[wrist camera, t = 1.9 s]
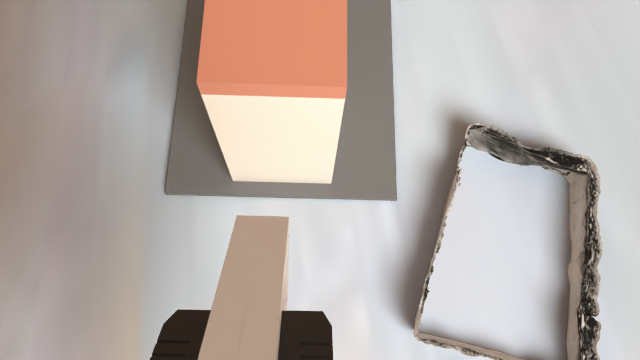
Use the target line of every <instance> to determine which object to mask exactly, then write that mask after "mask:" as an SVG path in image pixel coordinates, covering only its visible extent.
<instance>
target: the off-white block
mask: <svg viewBox="0 0 640 360" xmlns="http://www.w3.org/2000/svg"><path fill="white" fill-rule="evenodd" d="M196 83H197V85H198V88H199V91H200V93H201V96H202V99H203V101H204V104H205V107H206V110H207V112H208V115H209V118H210V120H211V123H212V126H213V129H214V131H215V134H216V137H217V139H218V142H219V145H220V148H221V150H222V153H223V156H224V158H225V161H226V164H227V167H228V169H229V172H230V175H231V177H232V180H233V181H251V182H288V183H326V184H331V182H332V176H333V170H334V164H335V158H336V152H337V145H338V139H339V133H340V127H341V121H342V115H343V109H344V103H345V97H346V90H347V0H205V5H204V15H203V25H202V34H201V44H200V53H199V63H198V72H197V82H196Z"/></svg>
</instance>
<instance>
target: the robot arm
mask: <svg viewBox="0 0 640 360" xmlns="http://www.w3.org/2000/svg"><path fill="white" fill-rule="evenodd" d="M288 245H289V217H276V216H237V217H236V221H235V225H234V228H233V232H232V235H231V239H230V243H229V246H228V250H227V254H226V257H225V261H224V265H223V268H222V272H221V276H220V279H219V283H218V287H217V290H216V294H215V298H214V301H213V305H212V309H211V310H177V311H176V312H175V313H174V314H173V315H172V316H171V317H170V318H169V319H168V320H167V321H166V322H165V323H164V324H163V327H162V329H161V332H160V335H159V337H158V340H157V343H156V345H155V348H154V350H153V353H152V357H151V358H150V360H333V346H332V326H331V324H330V322H329V321H328V319H327V318H326V316H325V314H324V313H323V311H287V300H288Z"/></svg>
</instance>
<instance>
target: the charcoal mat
mask: <svg viewBox="0 0 640 360" xmlns="http://www.w3.org/2000/svg"><path fill="white" fill-rule="evenodd" d="M204 5H205V0H188V3H187V12H186V20H185V29H184V37H183V46H182V54H181V63H180V71H179V79H178V88H177V96H176V105H175V113H174V122H173V130H172V139H171V147H170V156H169V164H168V173H167V181H166V190H165V194H166V195H198V196H237V197H275V198H314V199H353V200H391V201H396V200H397V190H396V158H395V127H394V95H393V64H392V32H391V1H390V0H347V90H346V97H345V103H344V109H343V115H342V121H341V127H340V133H339V139H338V145H337V152H336V158H335V164H334V170H333V176H332V182H331V184H326V183H288V182H251V181H233V180H232V177H231V175H230V172H229V169H228V167H227V164H226V161H225V158H224V156H223V153H222V150H221V148H220V145H219V142H218V139H217V137H216V134H215V131H214V129H213V126H212V123H211V120H210V118H209V115H208V112H207V110H206V107H205V104H204V101H203V99H202V96H201V93H200V91H199V88H198V85H197V83H196V82H197V72H198V63H199V53H200V44H201V34H202V25H203V15H204Z"/></svg>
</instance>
